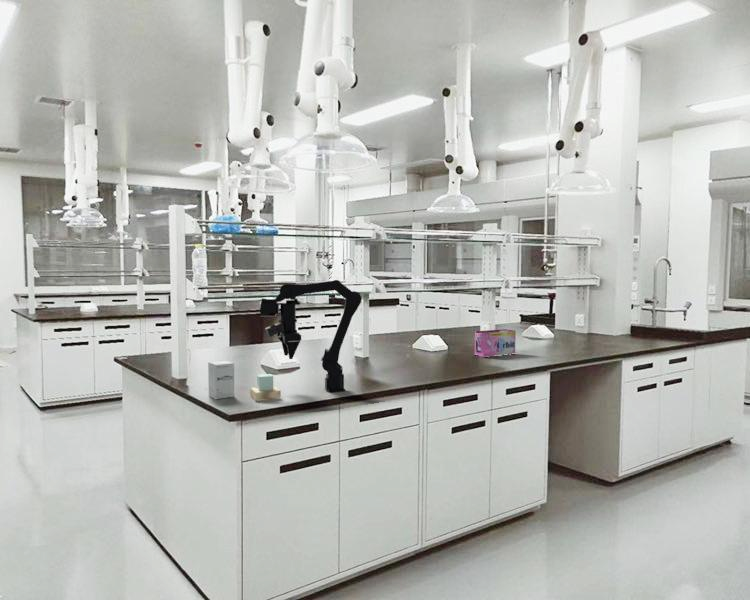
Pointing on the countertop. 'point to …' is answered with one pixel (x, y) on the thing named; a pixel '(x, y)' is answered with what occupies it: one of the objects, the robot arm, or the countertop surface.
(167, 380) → the countertop surface
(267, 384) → the teal cube
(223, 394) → the supplement box
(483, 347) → the gum box
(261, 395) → the beech block
